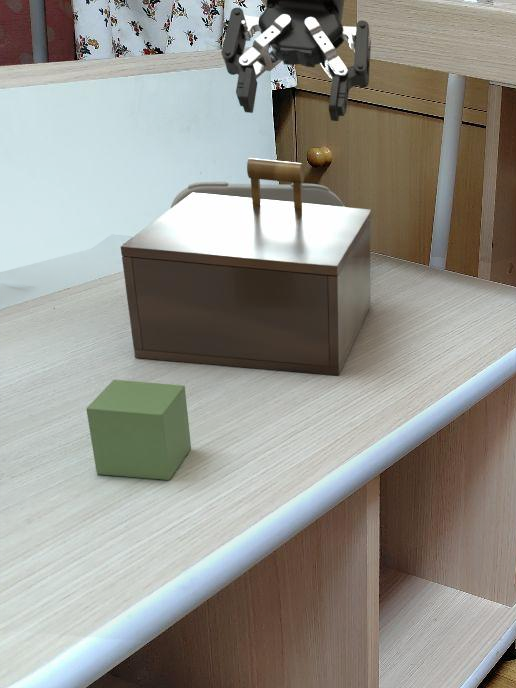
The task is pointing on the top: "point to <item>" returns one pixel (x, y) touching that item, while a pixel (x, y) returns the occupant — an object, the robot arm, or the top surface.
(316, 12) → the robot arm
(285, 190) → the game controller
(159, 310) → the chest
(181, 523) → the top surface
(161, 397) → the block
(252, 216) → the lid
